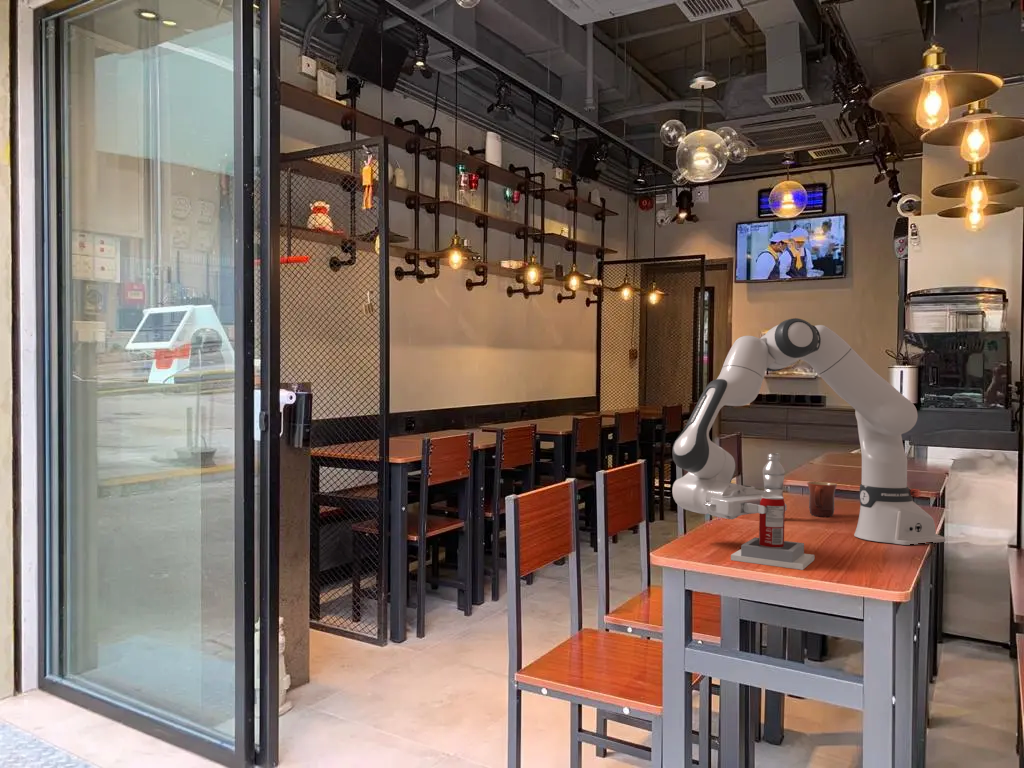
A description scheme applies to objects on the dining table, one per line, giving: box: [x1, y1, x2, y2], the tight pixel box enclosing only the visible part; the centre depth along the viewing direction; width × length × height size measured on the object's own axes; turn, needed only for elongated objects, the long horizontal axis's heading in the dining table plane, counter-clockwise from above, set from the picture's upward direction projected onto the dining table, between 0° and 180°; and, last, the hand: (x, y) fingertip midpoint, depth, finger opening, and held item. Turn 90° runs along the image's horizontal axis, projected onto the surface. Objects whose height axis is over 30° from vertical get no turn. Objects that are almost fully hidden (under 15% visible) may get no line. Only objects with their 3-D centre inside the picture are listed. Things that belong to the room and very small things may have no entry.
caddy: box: [730, 537, 815, 571], centre depth 179 cm, size 12×16×4 cm
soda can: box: [758, 495, 786, 549], centre depth 179 cm, size 6×6×12 cm
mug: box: [806, 481, 838, 518], centre depth 242 cm, size 12×9×10 cm
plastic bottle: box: [762, 452, 786, 497], centre depth 236 cm, size 6×7×20 cm
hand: (775, 508), depth 178 cm, fingers closed on soda can, 5 cm apart
